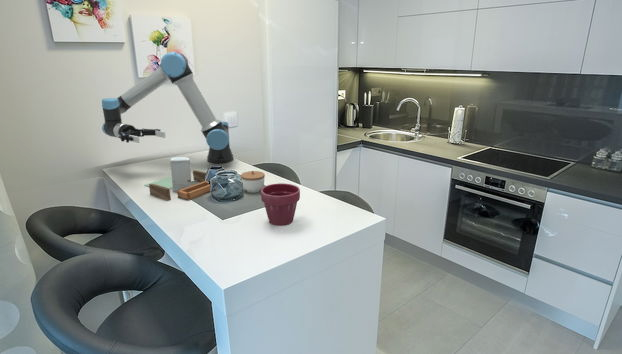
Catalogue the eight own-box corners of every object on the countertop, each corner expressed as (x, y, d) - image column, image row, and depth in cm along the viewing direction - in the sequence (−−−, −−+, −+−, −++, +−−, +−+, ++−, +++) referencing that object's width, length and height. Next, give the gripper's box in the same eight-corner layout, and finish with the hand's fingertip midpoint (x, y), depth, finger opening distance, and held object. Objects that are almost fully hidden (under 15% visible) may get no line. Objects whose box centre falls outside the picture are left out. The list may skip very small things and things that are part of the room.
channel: (196, 179, 175) (195, 169, 174) (212, 183, 169) (212, 174, 168) (150, 194, 155) (148, 184, 153) (167, 200, 149) (166, 189, 147)
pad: (169, 177, 177) (169, 176, 177) (188, 182, 170) (188, 182, 170) (144, 185, 166) (144, 184, 166) (163, 191, 159) (163, 190, 159)
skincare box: (173, 192, 158) (169, 160, 153) (173, 187, 163) (170, 157, 159) (192, 190, 160) (189, 159, 156) (192, 186, 166) (189, 156, 161)
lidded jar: (263, 194, 156) (262, 174, 153) (239, 194, 157) (238, 174, 154) (266, 186, 167) (266, 167, 164) (244, 186, 167) (243, 167, 164)
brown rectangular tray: (206, 186, 165) (205, 180, 164) (215, 189, 162) (215, 183, 161) (177, 197, 152) (177, 190, 151) (187, 200, 149) (187, 194, 148)
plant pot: (280, 210, 141) (280, 180, 137) (307, 219, 132) (307, 188, 128) (254, 221, 130) (252, 189, 126) (281, 233, 122) (280, 199, 118)
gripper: (149, 135, 185) (175, 140, 174) (101, 143, 165) (127, 150, 154) (147, 121, 183) (173, 125, 172) (98, 127, 163) (125, 133, 152)
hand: (151, 137), depth 163 cm, fingers open, 13 cm apart
